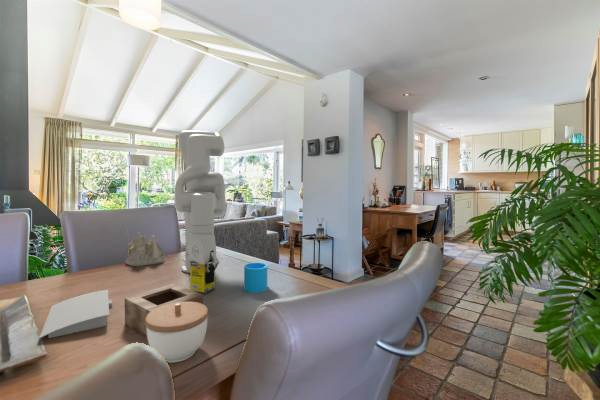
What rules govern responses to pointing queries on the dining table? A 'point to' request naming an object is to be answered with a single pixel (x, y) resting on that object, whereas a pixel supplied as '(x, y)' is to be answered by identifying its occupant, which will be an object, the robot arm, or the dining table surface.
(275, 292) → the dining table surface
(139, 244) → the sand castle
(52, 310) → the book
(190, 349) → the lidded bowl
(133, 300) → the drop box
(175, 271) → the dining table surface
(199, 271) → the supplement box
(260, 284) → the mug
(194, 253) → the robot arm
